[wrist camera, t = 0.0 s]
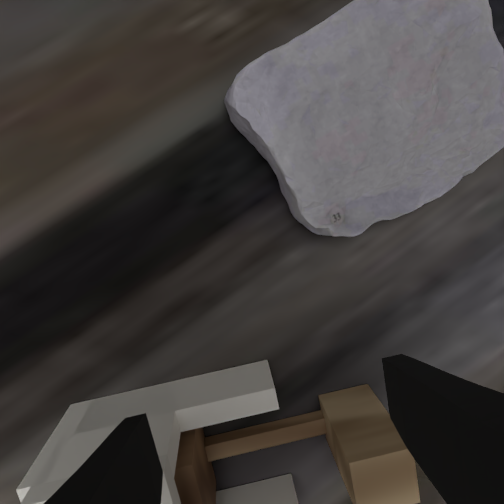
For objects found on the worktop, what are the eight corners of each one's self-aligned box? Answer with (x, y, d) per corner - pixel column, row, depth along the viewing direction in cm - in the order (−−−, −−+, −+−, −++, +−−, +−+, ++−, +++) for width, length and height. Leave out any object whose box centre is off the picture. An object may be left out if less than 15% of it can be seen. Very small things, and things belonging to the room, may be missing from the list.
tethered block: (376, 441, 24) (422, 519, 18) (133, 500, 23) (108, 598, 18) (365, 368, 23) (410, 428, 17) (110, 427, 22) (76, 508, 17)
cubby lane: (294, 489, 24) (325, 615, 17) (114, 533, 23) (71, 681, 17) (267, 359, 22) (289, 442, 15) (70, 404, 22) (2, 510, 15)
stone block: (474, 137, 23) (419, -48, 19) (543, 148, 18) (491, -91, 14) (298, 242, 23) (209, 86, 19) (324, 277, 19) (216, 85, 15)
